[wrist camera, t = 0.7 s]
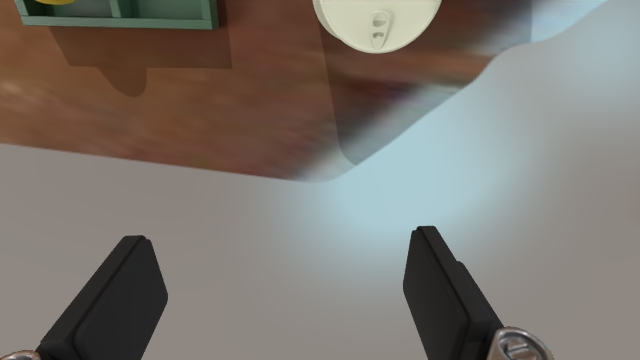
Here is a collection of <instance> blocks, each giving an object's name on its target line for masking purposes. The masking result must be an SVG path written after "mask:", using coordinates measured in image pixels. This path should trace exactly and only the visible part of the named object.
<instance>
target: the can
mask: <svg viewBox="0 0 640 360" xmlns="http://www.w3.org/2000/svg"><path fill="white" fill-rule="evenodd" d="M441 1H442V0H313V4H314V9H315V12H316V14H317V17H318V19H319V21H320V22H321V24H322V25H323V26H324V28H325V29H326V30H327V31H328V32H329V33H330V34H332V35H333V36H335V37H336V38H338V39H341V40H342V41H343V42H344V43H346V44H347V45H349V46H350V47H352V48H354V49H356V50H359V51H362V52H366V53H386V52H391V51H394V50H397V49H400V48H402V47H404V46H406V45H407V44H409V43H410V42H412V41H413V40H414V39H416V38H417V37H418V36H419V35H420V34H421V33H422V32H423V31H424V30H425V29H426V28H427V26H428V25H429V24H430V22H431V21H432V19H433V18H434V16H435V14H436V12H437V10H438V8H439V6H440V3H441Z"/></svg>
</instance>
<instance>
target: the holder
mask: <svg viewBox="0 0 640 360" xmlns="http://www.w3.org/2000/svg"><path fill="white" fill-rule="evenodd" d="M14 1H15V4H16V6H17V9H18V11H19V14H20V17H21V19H22V22H23V25H32V26H76V27H119V28H163V29H207V30H213V29H218V28H219V19H218V10H217V2H216V0H76V1H74V2H72V3H69V4H62V5H54V4H46V3H41V2H38V1H36V0H14Z"/></svg>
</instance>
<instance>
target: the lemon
mask: <svg viewBox="0 0 640 360" xmlns="http://www.w3.org/2000/svg"><path fill="white" fill-rule="evenodd" d="M36 1H38V2H41V3H46V4H54V5H62V4H69V3H72V2H74V1H76V0H36Z"/></svg>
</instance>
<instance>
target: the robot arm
mask: <svg viewBox="0 0 640 360" xmlns="http://www.w3.org/2000/svg"><path fill="white" fill-rule="evenodd" d="M403 291H404V295H405V297H406V300H407V303H408V306H409V308H410V311H411V314H412V317H413V319H414V322H415V325H416V327H417V330H418V333H419V336H420V338H421V341H422V343H423V346H424V349H425V352H426V355H427V357H428V360H554V357H553V355H552V353H551V351H550V350H549V349H548V347H547V346H546V345H545V344H544V343H543V342H542V341H541V340H540V339H538V338H537V337H536V336H535V335H533V334H531V333H530V332H528V331H526V330H523V329H520V328H517V327H510V326H509V327H504V326H503V324H502V323H501V321H500V320H499V318H498V317H497V315H496V313H495V312H494V310H493V309H492V307H491V306H490V304H489V303H488V301H487V300H486V298H485V297H484V295H483V294H482V292H481V291H480V289H479V287H478V286H477V284H476V283H475V281H474V280H473V278H472V276H471V275H470V273H469V272H468V270H467V269H466V267H465V266H464V265H463V263H461V262H460V261H456V259H455V257H454V256H453V254H452V253H451V251H450V249H449V248H448V246H447V245H446V243H445V241H444V240H443V238H442V237H441V235H440V233H439V232H438V230H437V229H436V227H434V226H418V227H417V230H414V231H412V234H411V239H410V245H409V251H408V257H407V264H406V269H405V275H404V281H403ZM167 300H168V293H167V290H166V287H165V284H164V281H163V277H162V274H161V271H160V269H159V265H158V262H157V259H156V256H155V252H154V249H153V246H152V243H151V241H150V240H149V239H146V237H144V236H143V235H138V236H125V237H123V238H122V239H121V241H120V242H119V243H118V244H117V246H116V247H115V248H114V249H113V251H112V252H111V254H110V255H109V256H108V257H107V259H106V260H105V261H104V262H103V263H102V265H101V266H100V267H99V268H98V270H97V271H96V272H95V274H94V275H93V276H92V277H91V278H90V280H89V281H88V282H87V284H86V285H85V286H84V287H83V289H82V290H81V291H80V292H79V294H78V295H77V296H76V297H75V299H74V300H73V301H72V302H71V304H70V305H69V306H68V307H67V309H66V310H65V311H64V313H63V314H62V315H61V317H60V318H59V319H58V320H57V321H56V323H55V324H54V325H53V326H52V328H51V329H50V330H49V331H48V333H47V334H46V335H45V336H44V338H43V339H42V340H41V344H40V345H39V346H38V347H37V349H36V350H35V351H33V350H22V351H18V352H14V353H11V354H9V355H6V356H4V357H2V358H0V360H141V358H142V356H143V354H144V352H145V349H146V347H147V345H148V343H149V341H150V339H151V336H152V334H153V332H154V330H155V328H156V326H157V323H158V321H159V319H160V317H161V315H162V313H163V311H164V308H165V306H166V304H167Z"/></svg>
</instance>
